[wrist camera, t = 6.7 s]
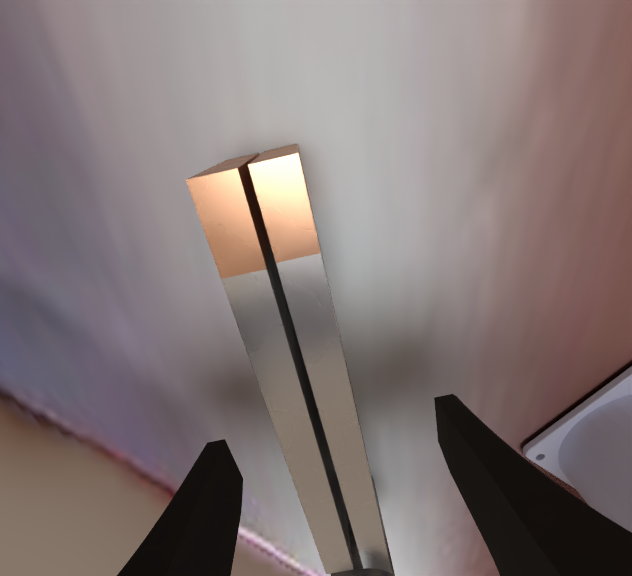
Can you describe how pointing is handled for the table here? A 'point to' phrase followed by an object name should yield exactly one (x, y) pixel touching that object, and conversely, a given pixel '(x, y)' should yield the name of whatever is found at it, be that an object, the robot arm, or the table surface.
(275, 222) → the tongs fixed arm
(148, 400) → the table surface
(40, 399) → the table surface
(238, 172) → the tongs moving arm
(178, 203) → the table surface
